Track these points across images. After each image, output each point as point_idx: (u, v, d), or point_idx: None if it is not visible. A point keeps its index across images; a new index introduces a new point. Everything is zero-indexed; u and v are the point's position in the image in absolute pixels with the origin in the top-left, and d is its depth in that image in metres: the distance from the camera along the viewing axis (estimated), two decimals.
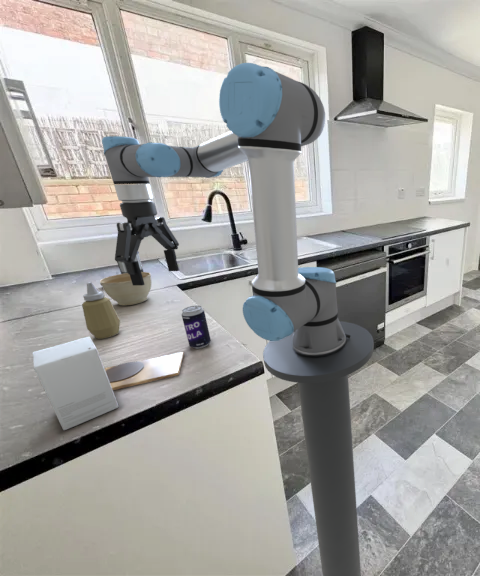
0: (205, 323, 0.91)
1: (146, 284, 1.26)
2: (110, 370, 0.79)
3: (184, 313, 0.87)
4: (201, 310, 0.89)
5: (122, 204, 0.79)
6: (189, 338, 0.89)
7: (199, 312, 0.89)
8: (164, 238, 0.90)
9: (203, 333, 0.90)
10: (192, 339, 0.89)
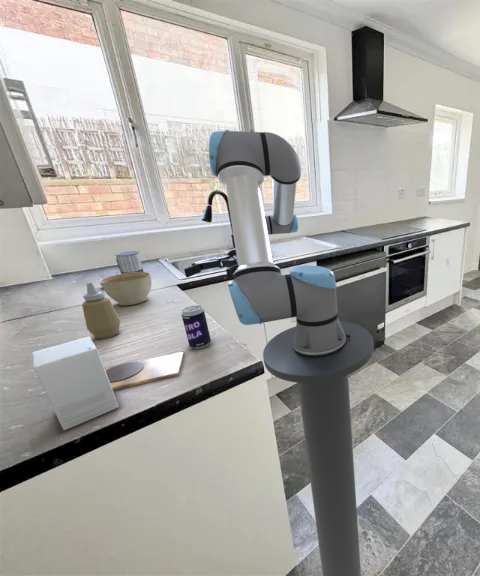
0: (205, 323, 0.91)
1: (146, 284, 1.26)
2: (110, 370, 0.79)
3: (184, 313, 0.87)
4: (201, 310, 0.89)
5: None
6: (189, 338, 0.89)
7: (199, 312, 0.89)
8: (238, 261, 1.05)
9: (203, 333, 0.90)
10: (192, 339, 0.89)
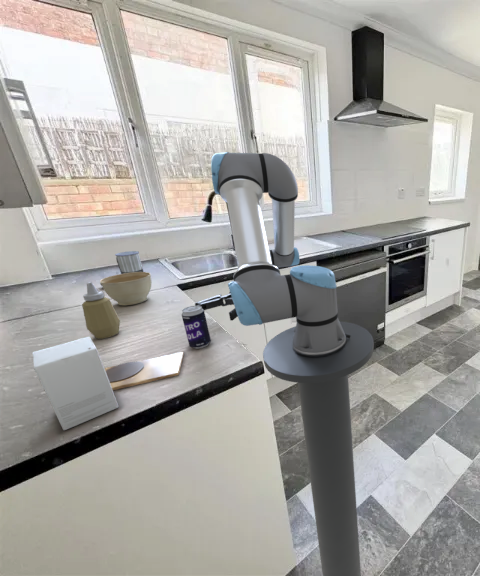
0: (205, 323, 0.91)
1: (146, 284, 1.26)
2: (110, 370, 0.79)
3: (184, 313, 0.87)
4: (201, 310, 0.89)
5: None
6: (189, 338, 0.89)
7: (199, 312, 0.89)
8: None
9: (203, 333, 0.90)
10: (192, 339, 0.89)
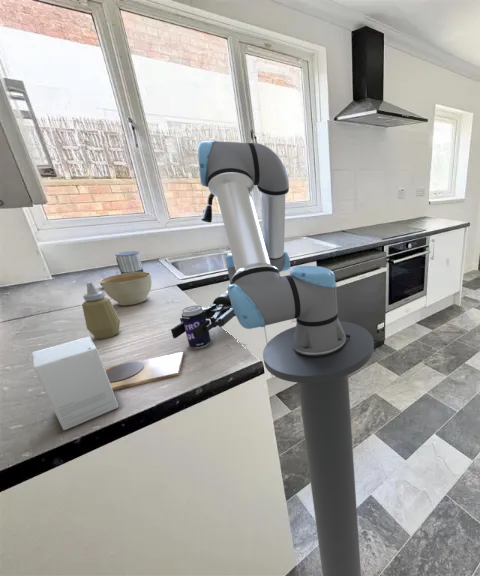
0: None
1: (146, 284, 1.26)
2: (110, 370, 0.79)
3: (184, 313, 0.87)
4: (201, 310, 0.89)
5: None
6: (189, 338, 0.89)
7: (199, 312, 0.89)
8: (216, 313, 0.96)
9: None
10: (192, 339, 0.89)
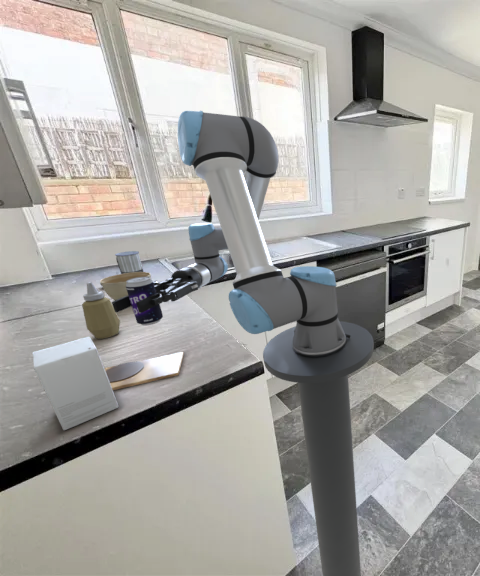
0: None
1: None
2: (110, 370, 0.79)
3: (128, 284, 0.76)
4: (149, 281, 0.78)
5: None
6: (135, 312, 0.78)
7: (146, 283, 0.78)
8: (170, 287, 0.85)
9: (152, 308, 0.79)
10: (139, 314, 0.78)
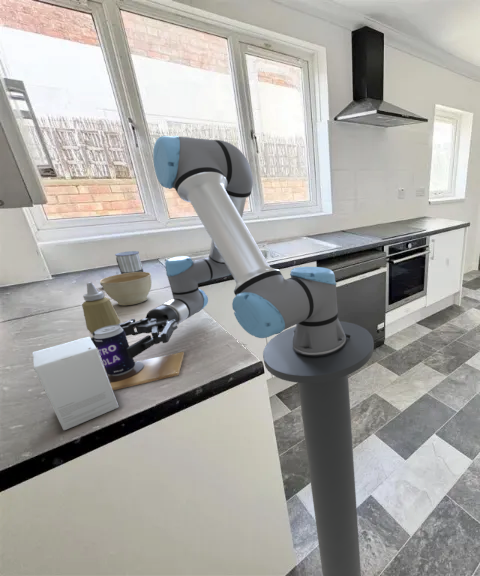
0: (125, 346, 0.77)
1: (146, 284, 1.26)
2: None
3: (96, 335, 0.73)
4: (119, 331, 0.75)
5: None
6: (105, 363, 0.75)
7: (116, 333, 0.75)
8: (153, 328, 0.83)
9: (122, 358, 0.76)
10: (108, 366, 0.75)
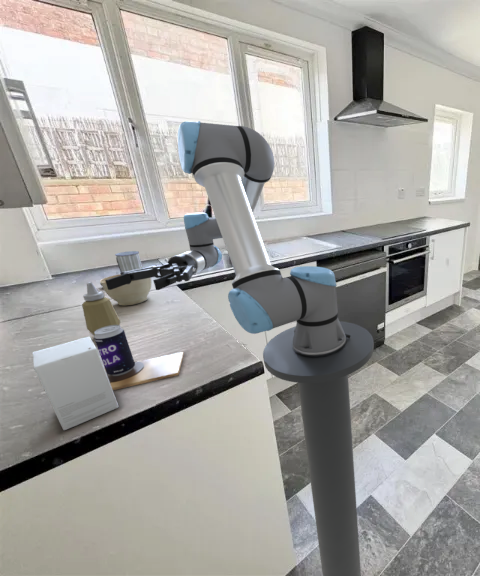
0: (125, 346, 0.77)
1: (146, 284, 1.26)
2: None
3: (96, 335, 0.73)
4: (119, 331, 0.75)
5: None
6: (105, 363, 0.75)
7: (116, 333, 0.75)
8: (175, 270, 0.91)
9: (122, 358, 0.76)
10: (108, 366, 0.75)
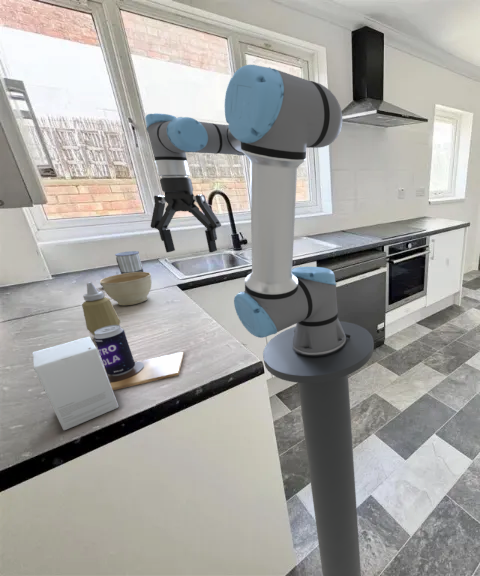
0: (125, 346, 0.77)
1: (146, 284, 1.26)
2: None
3: (96, 335, 0.73)
4: (119, 331, 0.75)
5: None
6: (105, 363, 0.75)
7: (116, 333, 0.75)
8: (196, 216, 0.89)
9: (122, 358, 0.76)
10: (108, 366, 0.75)
